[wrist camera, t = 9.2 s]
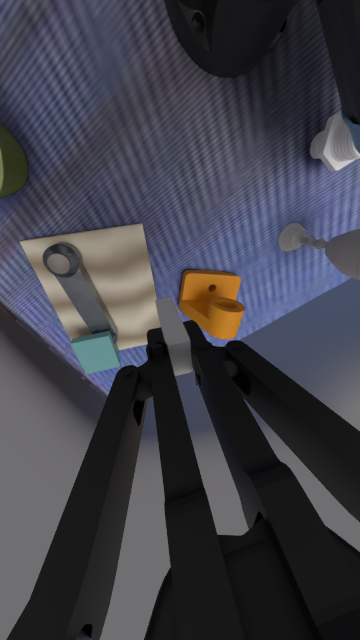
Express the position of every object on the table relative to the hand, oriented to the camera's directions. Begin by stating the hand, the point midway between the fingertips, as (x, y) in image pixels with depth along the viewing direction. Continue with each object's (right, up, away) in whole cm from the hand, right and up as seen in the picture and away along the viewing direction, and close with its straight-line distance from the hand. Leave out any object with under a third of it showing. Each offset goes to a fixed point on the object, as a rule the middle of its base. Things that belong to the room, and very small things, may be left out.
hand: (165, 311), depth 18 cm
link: (-14, +3, +15) cm, 20 cm away
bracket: (+6, +6, +21) cm, 22 cm away
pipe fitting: (+23, +26, +12) cm, 37 cm away
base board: (-12, +3, +17) cm, 21 cm away
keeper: (-14, -4, +19) cm, 24 cm away
